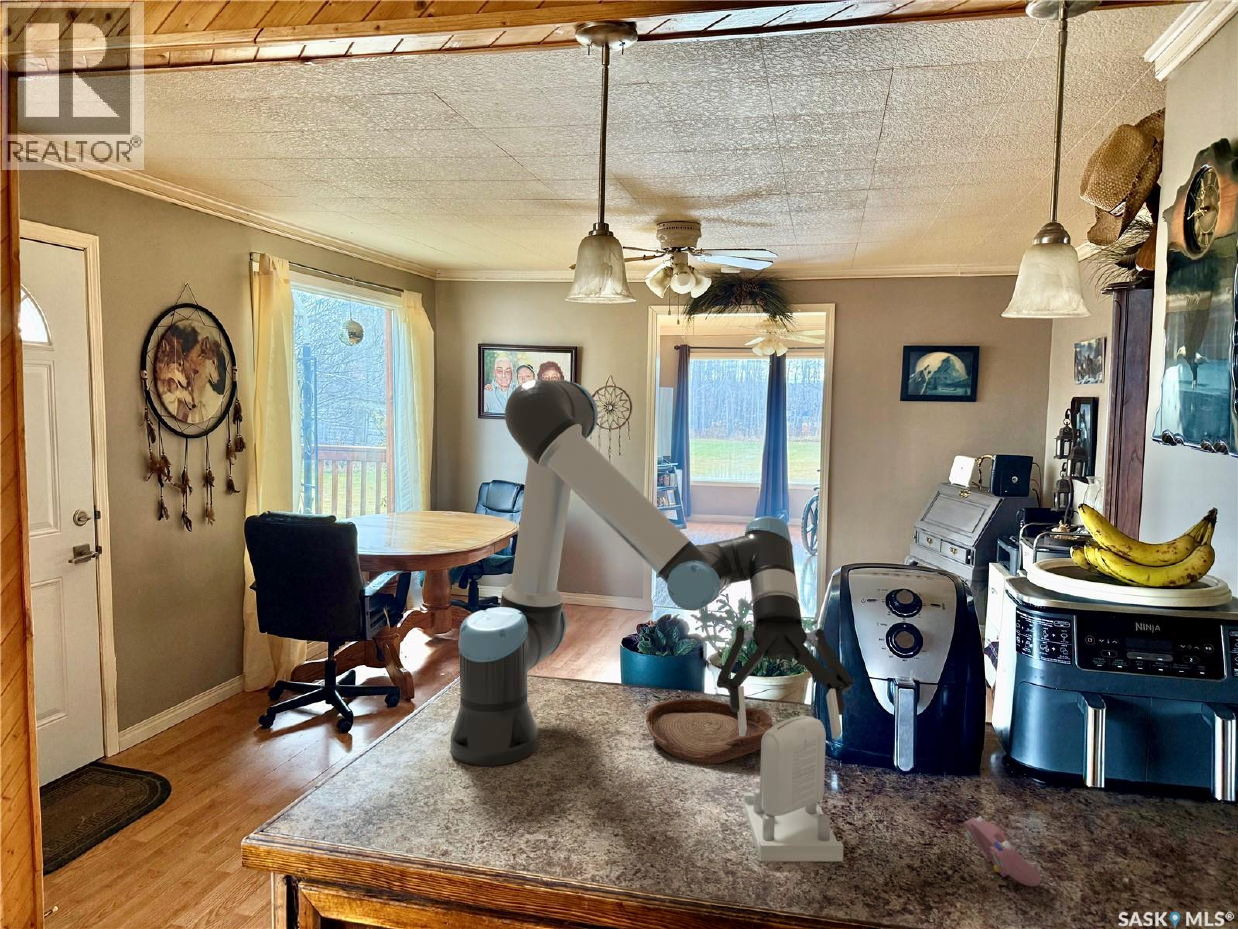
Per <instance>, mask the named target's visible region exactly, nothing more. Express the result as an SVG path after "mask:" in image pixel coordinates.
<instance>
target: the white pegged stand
mask: <svg viewBox="0 0 1238 929" xmlns="http://www.w3.org/2000/svg"><path fill="white" fill-rule="evenodd" d="M742 799H743V801H742V802H743V803H742V804H743V806H742V807H743V810H744V813H745V816H746V817H745V818H746V819H747V823H748V826H749V828H750V831H751V835H752V838H753V842H754V845H755V848H756V851H757V855H758V858H759V861H760V862H844V844H843V842H842V841H841V840H839V841H838V839H837V838H836V836H835V833H834V832H833V830H832V828H831V816H830V815H828V814H825V813H824V811H823V810H822V808H821V805H820V803H819V801H818V802H816V803H813V804H811V805H808V806H806V807H803V808H801V809H798V810H796V811H793V812H790V813H788V814H785V815H781V816H772V815H769V814H767V813H765V812H764V811H763V809H762V806H761V805H760V788H756V789H754V790H753V791H752V792H750V791H749V792H743V796H742Z"/></svg>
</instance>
